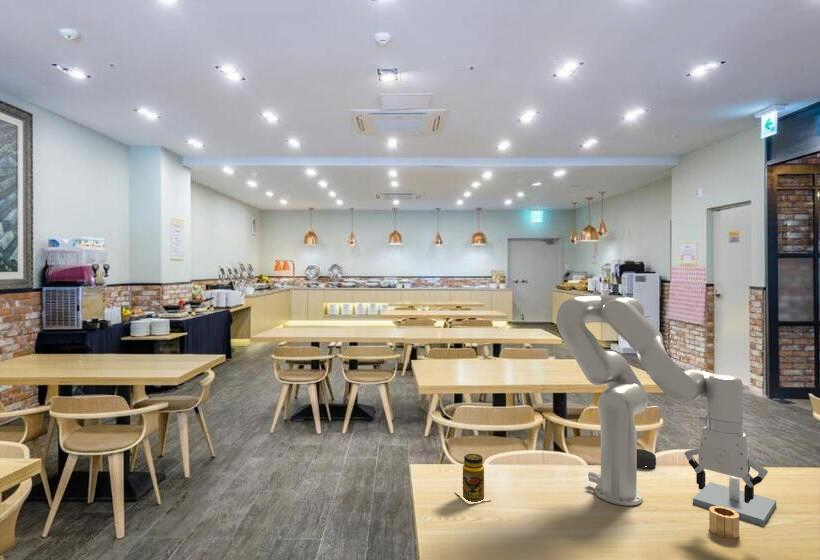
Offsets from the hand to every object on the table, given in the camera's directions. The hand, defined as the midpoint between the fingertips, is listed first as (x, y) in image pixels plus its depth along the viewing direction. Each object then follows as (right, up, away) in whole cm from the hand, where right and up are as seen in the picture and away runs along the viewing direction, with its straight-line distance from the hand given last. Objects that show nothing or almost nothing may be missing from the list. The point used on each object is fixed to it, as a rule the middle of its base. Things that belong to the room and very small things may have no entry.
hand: (724, 494), depth 114 cm
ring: (0, -9, 0) cm, 9 cm away
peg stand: (+13, -10, +14) cm, 21 cm away
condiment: (-60, -9, +18) cm, 63 cm away
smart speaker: (+1, -10, +43) cm, 44 cm away
